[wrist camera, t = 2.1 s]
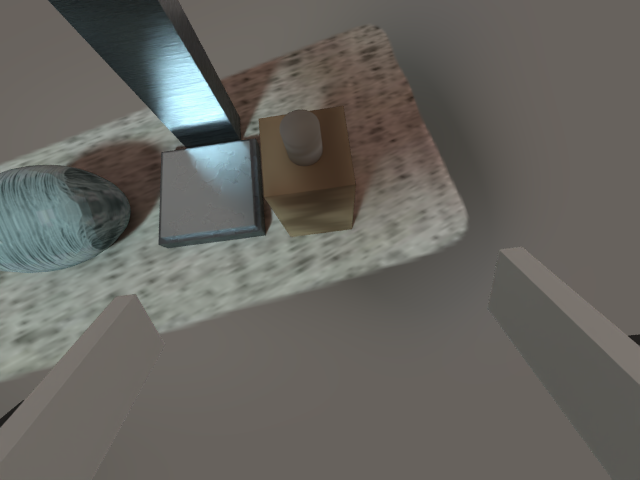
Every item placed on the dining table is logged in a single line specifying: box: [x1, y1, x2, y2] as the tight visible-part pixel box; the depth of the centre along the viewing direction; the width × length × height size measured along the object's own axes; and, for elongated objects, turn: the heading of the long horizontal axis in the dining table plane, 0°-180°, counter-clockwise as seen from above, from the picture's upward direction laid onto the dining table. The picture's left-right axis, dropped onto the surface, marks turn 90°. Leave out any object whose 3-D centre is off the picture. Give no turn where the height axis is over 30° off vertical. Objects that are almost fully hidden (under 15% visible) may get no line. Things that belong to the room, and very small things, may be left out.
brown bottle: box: [259, 106, 356, 237], centre depth 23 cm, size 6×6×12 cm
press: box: [48, 0, 265, 248], centre depth 17 cm, size 10×14×29 cm
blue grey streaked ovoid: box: [0, 165, 131, 273], centre depth 27 cm, size 14×10×10 cm
